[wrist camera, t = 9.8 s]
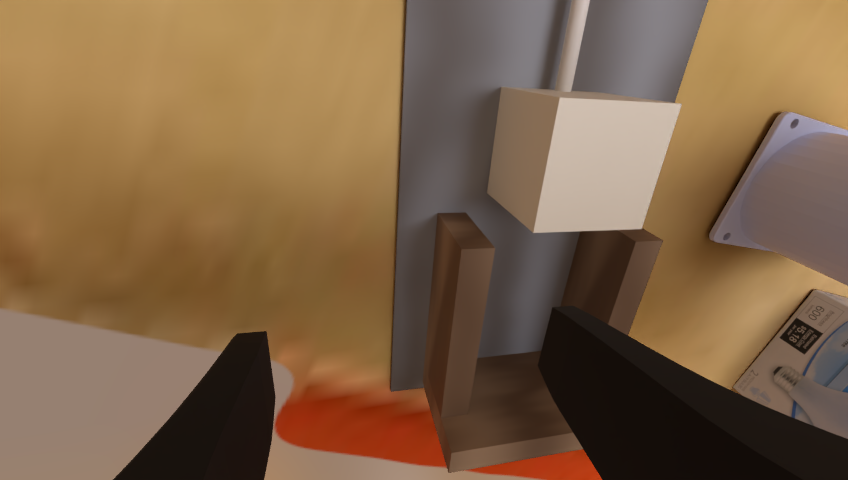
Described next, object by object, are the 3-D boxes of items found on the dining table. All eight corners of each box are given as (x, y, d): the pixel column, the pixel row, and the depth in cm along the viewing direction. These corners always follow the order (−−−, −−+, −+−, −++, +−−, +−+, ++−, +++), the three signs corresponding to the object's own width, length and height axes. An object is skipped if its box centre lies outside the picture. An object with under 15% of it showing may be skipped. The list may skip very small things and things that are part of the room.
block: (665, -194, 15) (858, -335, 9) (574, 192, 21) (659, 239, 16) (543, -225, 13) (685, -407, 8) (486, 192, 20) (545, 243, 14)
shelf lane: (728, -73, 17) (917, -129, 11) (585, 364, 28) (648, 442, 22) (411, -131, 14) (467, -244, 8) (390, 389, 25) (408, 486, 19)
